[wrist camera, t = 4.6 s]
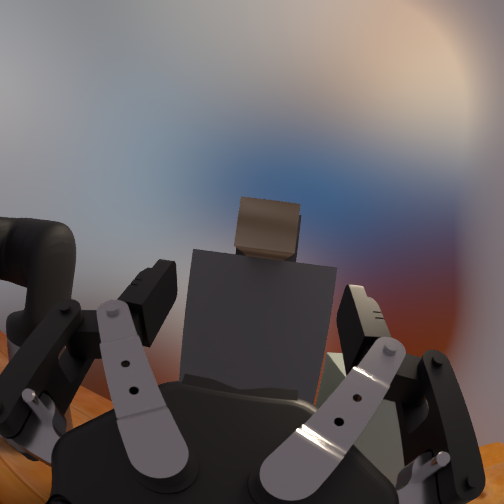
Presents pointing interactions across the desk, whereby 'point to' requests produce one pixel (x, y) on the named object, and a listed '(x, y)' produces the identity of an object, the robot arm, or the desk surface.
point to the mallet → (268, 229)
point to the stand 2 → (369, 423)
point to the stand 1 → (257, 321)
